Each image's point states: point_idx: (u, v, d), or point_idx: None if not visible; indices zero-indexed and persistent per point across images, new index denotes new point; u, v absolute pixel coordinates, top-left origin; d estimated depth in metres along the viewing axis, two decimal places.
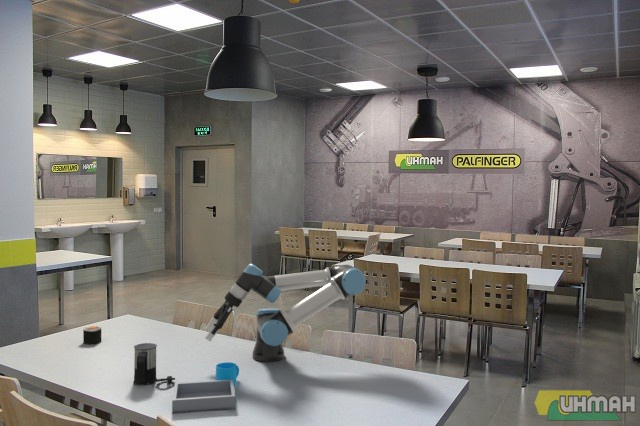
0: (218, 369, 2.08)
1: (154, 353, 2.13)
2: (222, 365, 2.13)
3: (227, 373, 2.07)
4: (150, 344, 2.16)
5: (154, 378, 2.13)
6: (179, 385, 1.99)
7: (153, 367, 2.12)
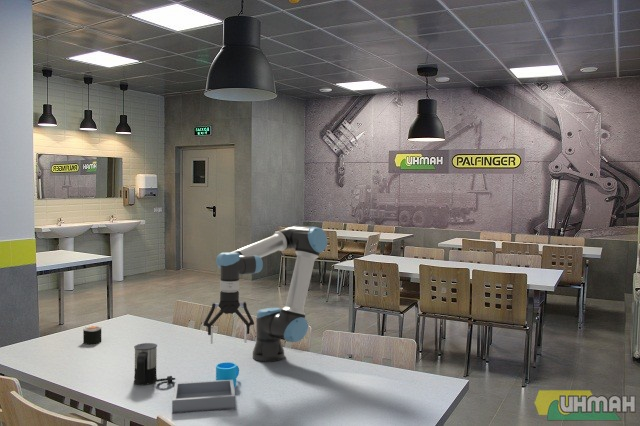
0: (218, 369, 2.08)
1: (154, 353, 2.13)
2: (222, 365, 2.13)
3: (227, 373, 2.07)
4: (150, 344, 2.16)
5: (154, 378, 2.13)
6: (179, 385, 1.99)
7: (153, 367, 2.12)
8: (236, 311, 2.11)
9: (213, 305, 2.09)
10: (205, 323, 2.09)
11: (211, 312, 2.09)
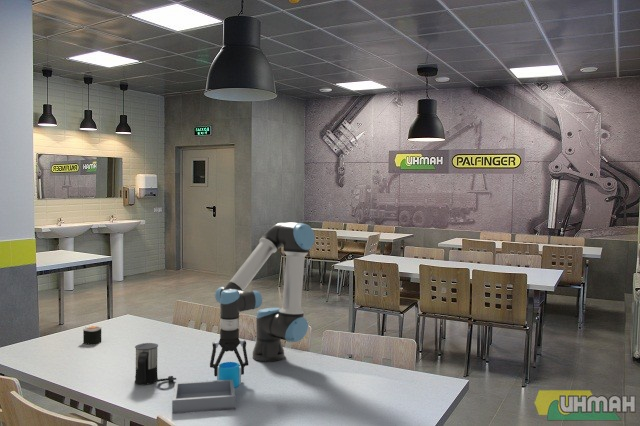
0: (221, 368, 2.08)
1: (155, 353, 2.13)
2: (225, 364, 2.14)
3: (230, 373, 2.07)
4: (151, 344, 2.16)
5: (155, 378, 2.13)
6: (179, 385, 1.99)
7: (154, 367, 2.12)
8: (235, 349, 2.11)
9: (213, 345, 2.10)
10: (211, 365, 2.10)
11: (214, 352, 2.10)
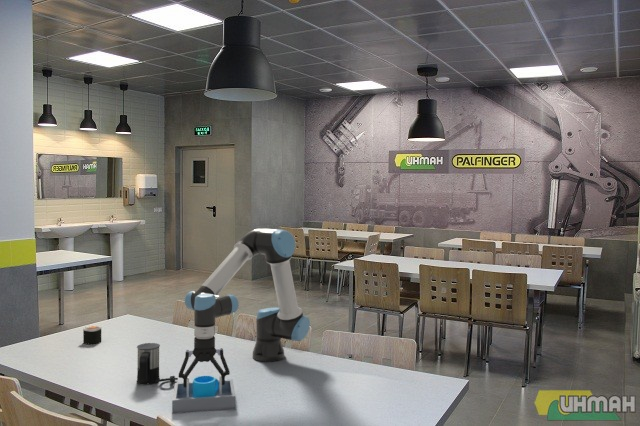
0: (195, 384, 1.89)
1: (157, 353, 2.13)
2: (200, 379, 1.95)
3: (204, 388, 1.89)
4: (153, 344, 2.16)
5: (157, 378, 2.13)
6: (179, 385, 1.99)
7: (156, 367, 2.13)
8: (211, 359, 1.92)
9: (186, 354, 1.91)
10: (180, 374, 1.91)
11: (185, 362, 1.91)
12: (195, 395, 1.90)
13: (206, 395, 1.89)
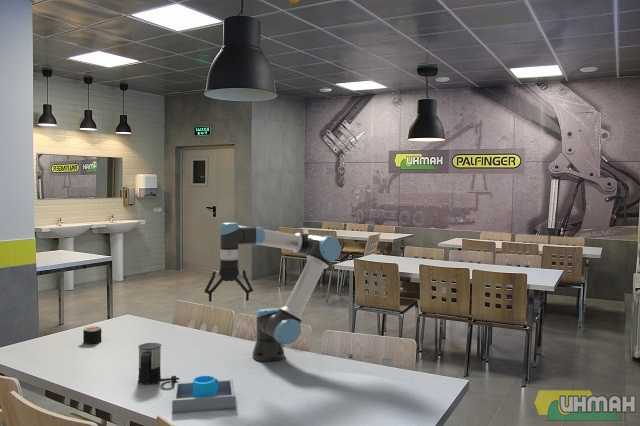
0: (195, 384, 1.89)
1: (158, 353, 2.13)
2: (200, 379, 1.95)
3: (204, 388, 1.89)
4: (154, 344, 2.16)
5: (158, 378, 2.13)
6: (179, 385, 1.99)
7: (157, 367, 2.13)
8: (236, 278, 2.20)
9: (213, 273, 2.18)
10: (206, 290, 2.18)
11: (212, 279, 2.18)
12: (195, 395, 1.90)
13: (206, 395, 1.89)
